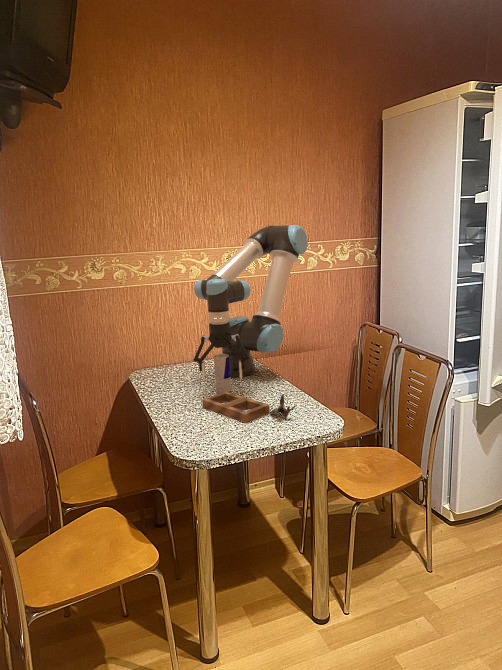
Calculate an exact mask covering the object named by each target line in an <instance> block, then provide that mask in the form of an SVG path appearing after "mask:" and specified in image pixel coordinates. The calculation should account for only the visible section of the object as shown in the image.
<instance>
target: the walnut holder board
mask: <svg viewBox="0 0 502 670" xmlns="http://www.w3.org/2000/svg"><path fill="white" fill-rule="evenodd" d="M201 403H202V408H203V409H204V410H209V411H211V412H213V413H216V414H219V415H222V416H224V417H227V418H229V419H234V420H235V421H239V422H241V423H244V424H247V423H249V422H252V421H255V420H257V419H260V418H262V417H264V416H267V415H270V414H271V413H270V412H271V410H270V404H268V403H264V402H260V401H259V400H255V399H251V398H249V397H245V396H242V395H240V394H236V393H232V392H231V393H230V392H223V393H220V394H214V395H212V396H208V397H205V398H203V399H202V401H201ZM245 410H246V411H245Z"/></svg>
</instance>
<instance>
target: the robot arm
mask: <svg viewBox="0 0 502 670" xmlns="http://www.w3.org/2000/svg"><path fill="white" fill-rule="evenodd" d="M308 242H309V241H308V236H307V232H306V230H305V229H304V228H303V227H302V226H300V225H294V224H289V225H288V224H287V225H286V224H284V225H267V226H264V227H262V228H261V229H258V230H257V231H256V232H254V233H253V234H251V235H250V236H249V237H247V238H246V239H245V240H244V242H243V246H242V247H240V248H239V249H238V250H237V251H236V252H235V253H233V255H232V256H230V258H228V259H227V260H226V261H225V262H224V263H223V264H222V265H220V266H219V268H218V269H216V270H215V272H213V273H212V274H211V275H210V276H209V277H208V278H207V279H199V280H197V281H196V282H195V283H194V287H193V292H194V294H195V297H197V298H198V299H202V300H206V301H207V315H208V332H209V336H205V335H202V336H201V337H200V344H199V347H198V348H197V350H196V353H195V355H194V358H193V362H194V363H195V362H196V363H198V370H199V372H202V373H201V374H202V381H203V382H204V381H206V378H207V377H206V375H207V374H206V364H205V363H206V362H205V361H204V360H205V359H206V358H207V356H208V355H209V353H210V352H211V351H212V350H213V349H214V348H216V349H220V348H221V352H222V353H221V354H228V355H229V362H230V378H239V380H242V379H243V377H247V376H250V375H252V374H255V373H256V365H255V363H254V359H253V357H252V354H251V351H252V352H259V353H262V354H264V353H265V354H272V353H274V352H275V351H277V350H278V349H279V348H280V347H281V345H282V343H283V340H284V329H283V327H282V326H281V324H282V322H281V321H280V318H279V316H280V313H281V310H282V306H283V301H284V298H285V294H286V290H287V287H288V283H289V279H290V275H291V271H292V268H293V265H294V264H295V263H296V262H298V260H299V256H300V255H303V254H305V253H306V252H307V249H308ZM268 254H269V255H270V256H271V257H272V260H271V262H270V266H269V270H268V273H267V277H266V281H265V284H264V288H263V291H262V295H261V299H260V302H259V306H258V311H257V312H256V313H254V314H252V318H251V320H250V319H249V317H248V316H245V315H244V316H243V315H242V316H241V315H240V316H234V317H230V306H229V305H230V304H233V303H237V302H242V301H244V300H247V299H248V298H249V297H250V296H251V286H250V284H249V283H248V282H247V281H246V280H245V279H244V280H240V279H239V280H238V279H237V278H238V277H239V276H240V275H241V274H242V273H243V272H244V271H245V270H247V268H248V267H249V266H251V264H252V263H253V262H254V261H256V260H259V259H261V258H262V257H263V256H265V255H268ZM236 279H237V280H236ZM207 341H209V342H210V345H209V346H208V347H207V349H206V350H205V352H204V353H203V354H202V355H201V356H200V354H201V352H202V350H203V347H204V344H205V343H206V342H207ZM199 356H200V357H199Z"/></svg>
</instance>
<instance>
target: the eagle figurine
mask: <svg viewBox="0 0 502 670" xmlns="http://www.w3.org/2000/svg"><path fill="white" fill-rule="evenodd" d="M285 403H286V401H285V395H284V393H282V394H281V396H280V399H279V406H278V407H277V408H274V409H272V410H270V414H277V413H280V414H281V415H282V416H284V421H286V419H287V417H288V415H289V414H290V412H292V411H293V410H294V409H295V407H296V405H294V406H293V407H291V408H290V406H289V405H287V407H285ZM286 408H287V409H286Z"/></svg>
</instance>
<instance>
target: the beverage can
mask: <svg viewBox="0 0 502 670" xmlns="http://www.w3.org/2000/svg"><path fill="white" fill-rule="evenodd" d="M213 364H214V379H215V393H216V394H215V395H217V394H220V393H223V392H230V393H232V381H231V378H232V377H230V362H229V355H228V354H222V353H216V354H215V355H214V356H213Z"/></svg>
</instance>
